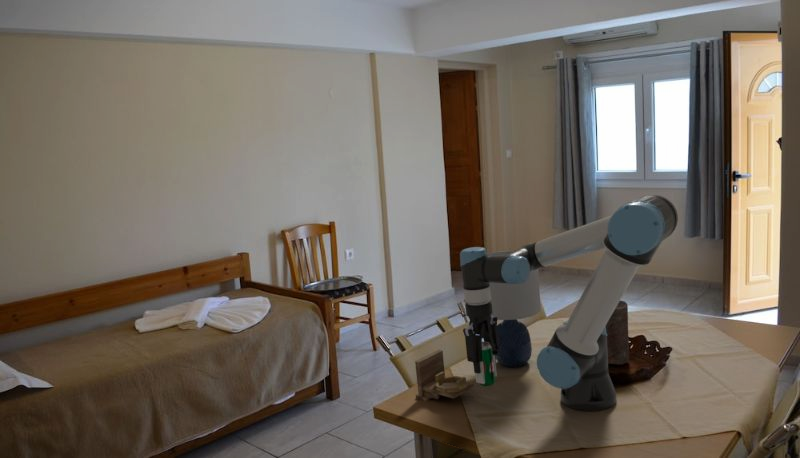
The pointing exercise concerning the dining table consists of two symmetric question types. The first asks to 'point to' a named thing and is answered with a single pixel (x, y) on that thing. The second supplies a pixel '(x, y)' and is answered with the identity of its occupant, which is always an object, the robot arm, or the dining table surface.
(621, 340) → the candle
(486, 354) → the soda can
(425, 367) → the bracket
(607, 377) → the robot arm
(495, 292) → the lamp
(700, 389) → the dining table surface
